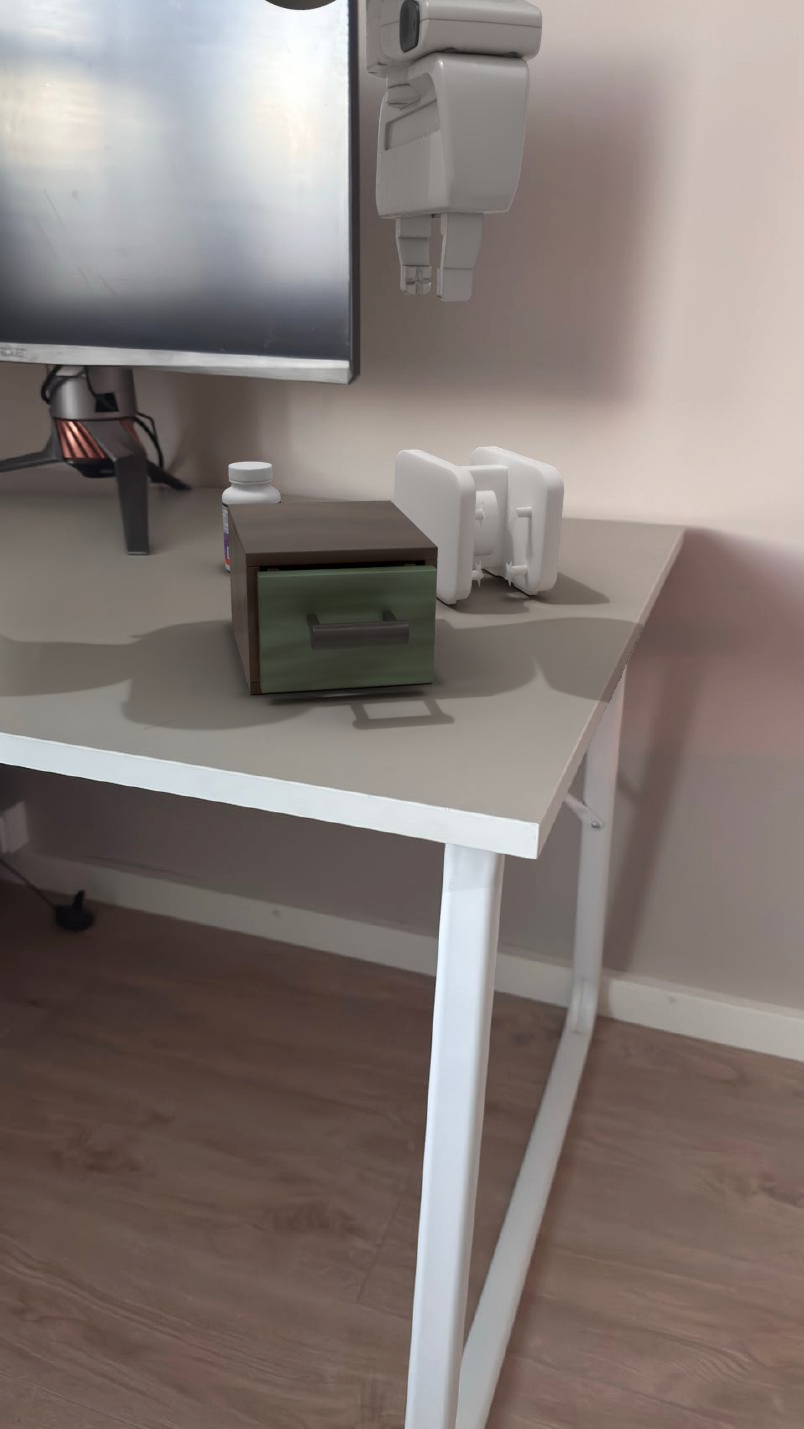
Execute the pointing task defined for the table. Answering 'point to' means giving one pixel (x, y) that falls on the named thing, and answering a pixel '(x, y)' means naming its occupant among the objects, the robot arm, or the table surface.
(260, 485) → the pill bottle
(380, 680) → the drawer
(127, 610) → the table surface
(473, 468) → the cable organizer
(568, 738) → the table surface
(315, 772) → the table surface
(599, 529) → the table surface
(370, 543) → the cabinet
